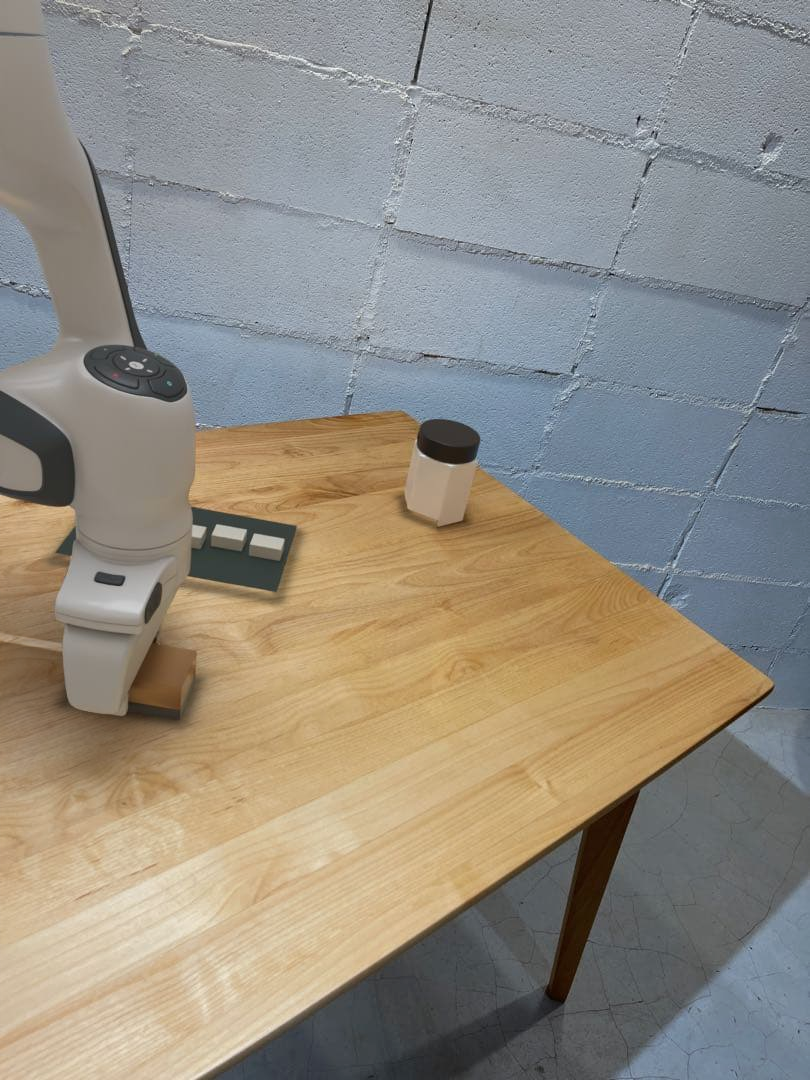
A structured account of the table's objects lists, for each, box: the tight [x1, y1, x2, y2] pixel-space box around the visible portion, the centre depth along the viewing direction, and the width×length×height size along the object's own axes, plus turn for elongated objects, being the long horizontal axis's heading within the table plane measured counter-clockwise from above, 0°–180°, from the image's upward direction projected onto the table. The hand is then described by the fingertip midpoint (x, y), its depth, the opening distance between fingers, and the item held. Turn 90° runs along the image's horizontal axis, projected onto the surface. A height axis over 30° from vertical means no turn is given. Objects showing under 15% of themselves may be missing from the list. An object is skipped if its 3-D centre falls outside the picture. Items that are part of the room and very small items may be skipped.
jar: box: [403, 418, 481, 528], centre depth 109 cm, size 9×8×12 cm
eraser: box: [66, 643, 198, 721], centre depth 73 cm, size 10×5×4 cm, turn 87°
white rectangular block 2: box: [211, 524, 247, 552], centre depth 94 cm, size 4×2×2 cm, turn 87°
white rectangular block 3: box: [249, 533, 285, 561], centre depth 94 cm, size 4×2×2 cm, turn 87°
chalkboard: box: [54, 506, 298, 593], centre depth 94 cm, size 24×14×1 cm, turn 87°
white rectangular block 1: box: [191, 525, 206, 549], centre depth 93 cm, size 4×2×2 cm, turn 87°
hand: (134, 675), depth 73 cm, fingers open, 7 cm apart
